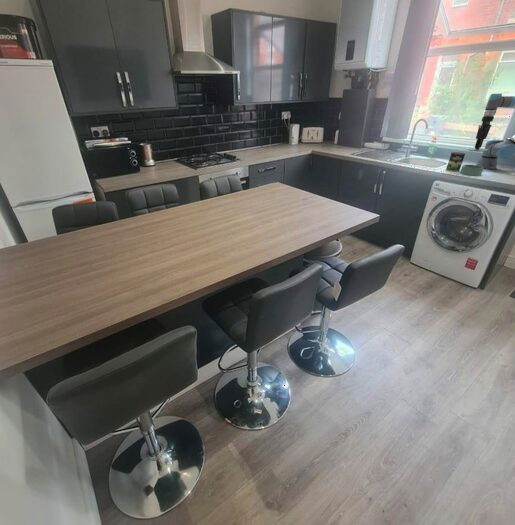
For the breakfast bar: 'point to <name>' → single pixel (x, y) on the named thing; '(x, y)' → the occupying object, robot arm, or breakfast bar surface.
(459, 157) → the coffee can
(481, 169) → the pot
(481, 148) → the pot lid
